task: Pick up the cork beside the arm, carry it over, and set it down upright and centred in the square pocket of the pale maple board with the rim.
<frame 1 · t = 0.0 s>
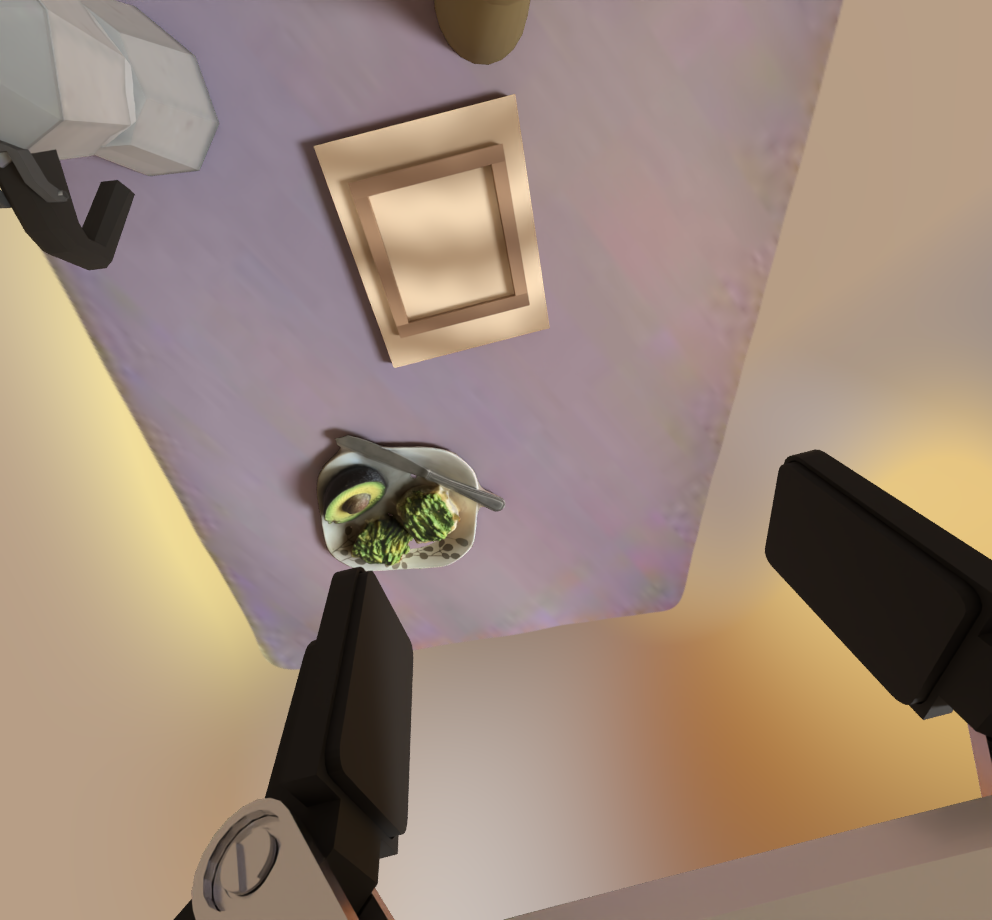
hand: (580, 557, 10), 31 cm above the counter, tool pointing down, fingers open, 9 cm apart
maple board: (446, 247, 34), on the counter
cork: (481, 2, 27), on the counter
coffee maker: (153, 120, 28), on the counter
salad plate: (397, 501, 47), on the counter
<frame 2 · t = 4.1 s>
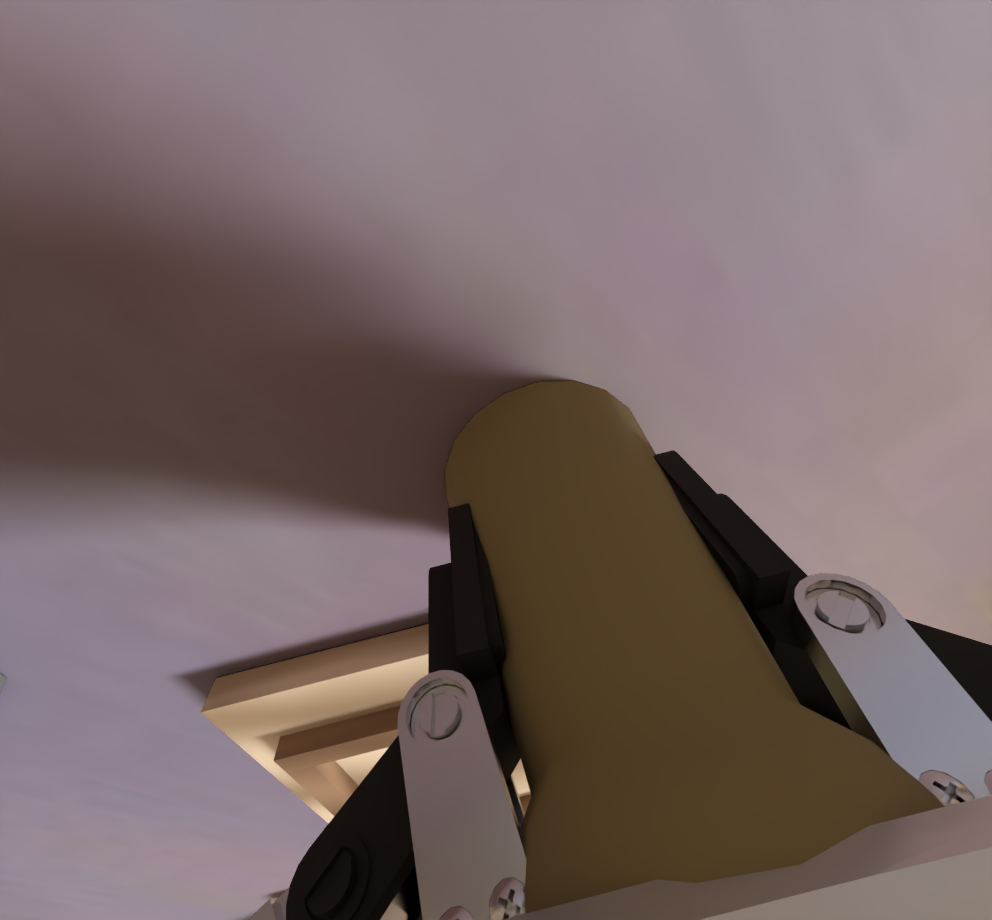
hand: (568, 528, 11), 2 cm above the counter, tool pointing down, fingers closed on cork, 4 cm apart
maple board: (461, 735, 20), on the counter
cork: (545, 473, 13), on the counter, touching gripper
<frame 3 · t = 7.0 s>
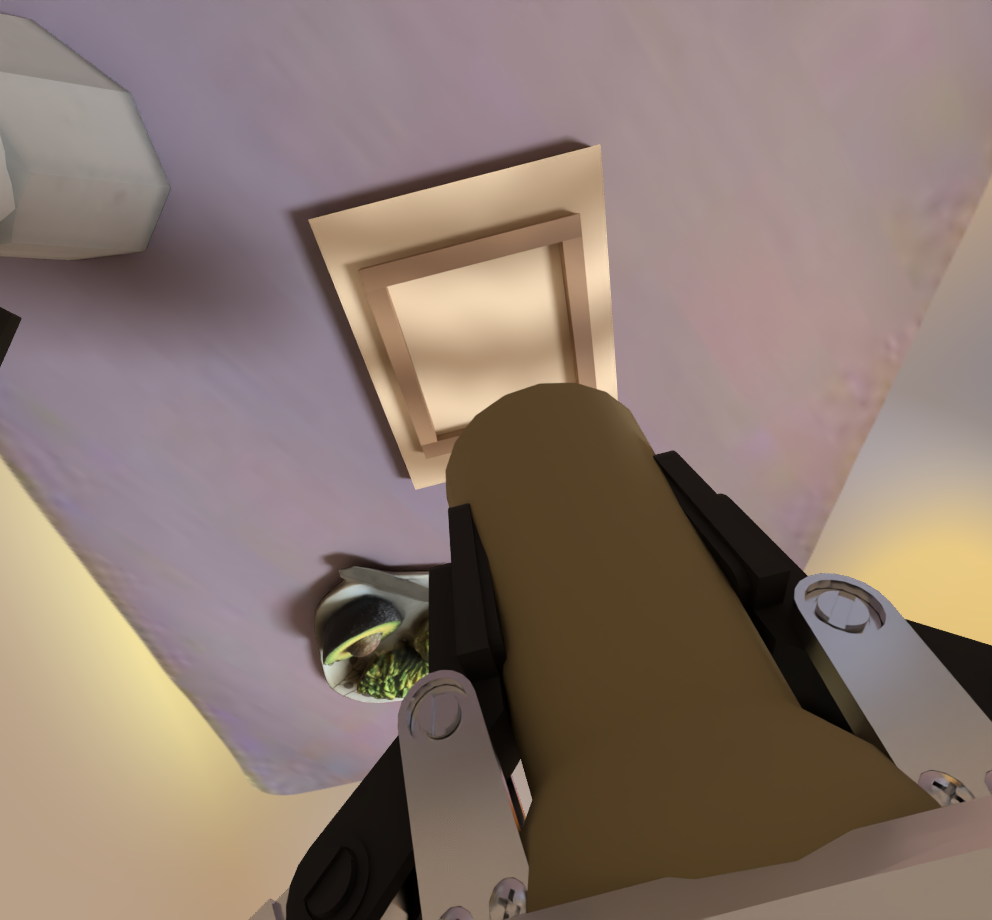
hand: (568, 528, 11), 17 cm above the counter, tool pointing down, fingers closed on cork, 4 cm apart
maple board: (489, 341, 25), on the counter
cork: (546, 474, 13), point 14 cm above the counter, touching gripper
coffee maker: (73, 183, 19), on the counter
salad plate: (414, 624, 38), on the counter
when the fingers open (5 cm above the counter, at t = 9.9 s): cork drops 1 cm, resting on maple board.
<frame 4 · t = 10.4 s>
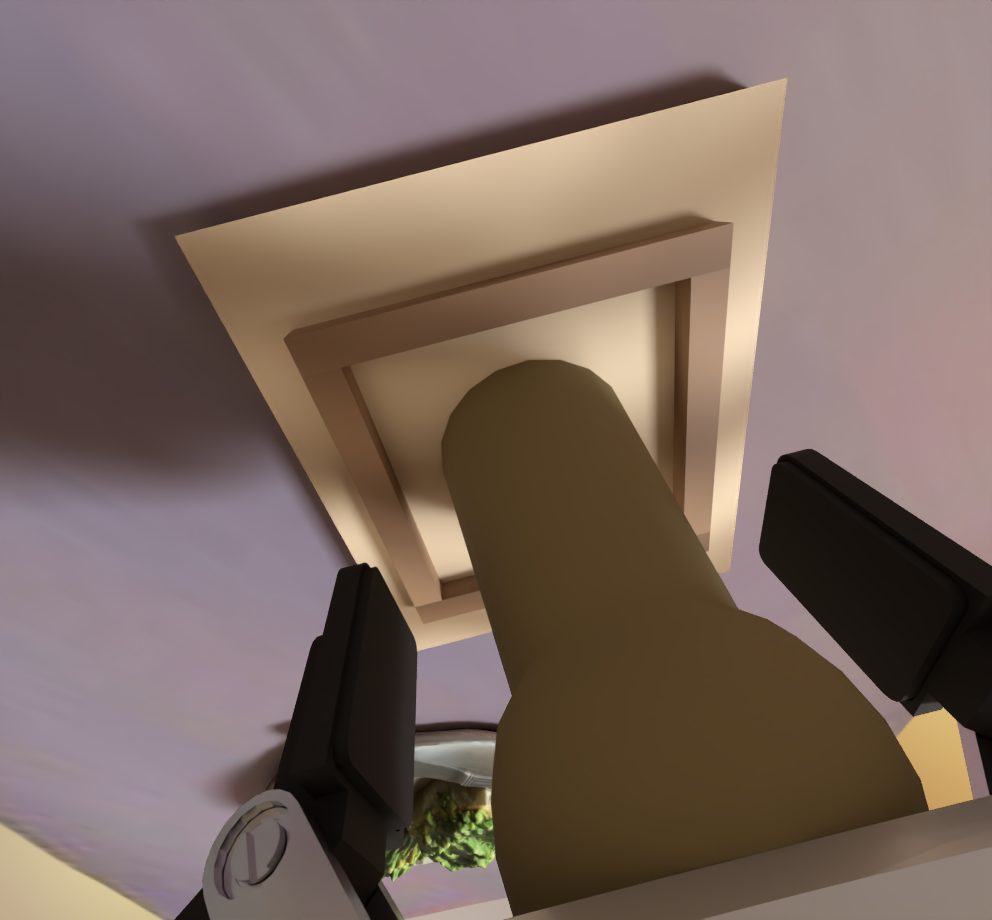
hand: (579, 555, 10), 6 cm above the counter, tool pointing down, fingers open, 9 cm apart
maple board: (530, 437, 15), on the counter
cork: (534, 448, 14), point 1 cm above the counter, touching maple board
salad plate: (408, 781, 28), on the counter
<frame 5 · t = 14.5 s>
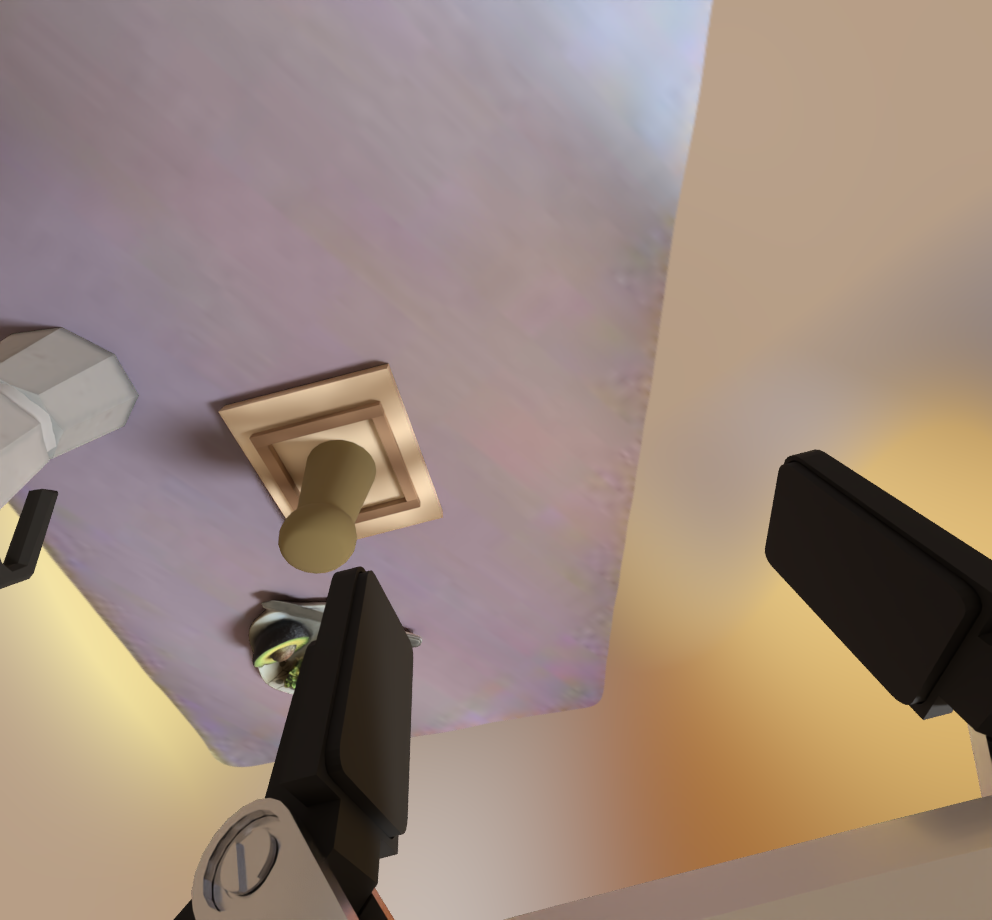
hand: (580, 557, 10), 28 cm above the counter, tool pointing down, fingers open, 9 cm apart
maple board: (345, 463, 40), on the counter
cork: (342, 467, 39), point 1 cm above the counter, touching maple board
coffee maker: (82, 395, 34), on the counter
salad plate: (326, 637, 53), on the counter
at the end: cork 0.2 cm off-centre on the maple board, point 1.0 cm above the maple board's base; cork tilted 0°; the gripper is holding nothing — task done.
